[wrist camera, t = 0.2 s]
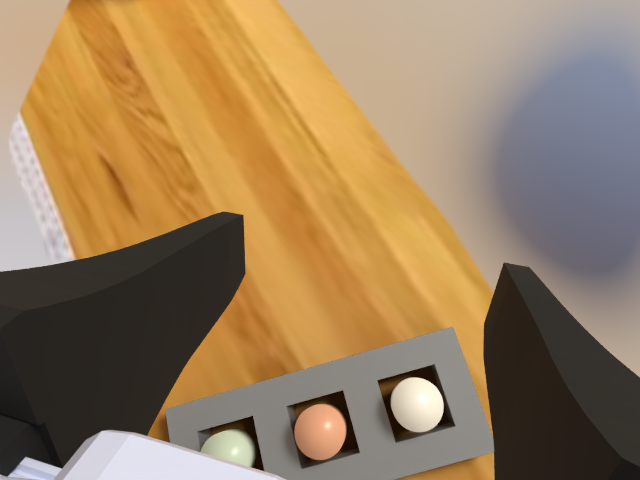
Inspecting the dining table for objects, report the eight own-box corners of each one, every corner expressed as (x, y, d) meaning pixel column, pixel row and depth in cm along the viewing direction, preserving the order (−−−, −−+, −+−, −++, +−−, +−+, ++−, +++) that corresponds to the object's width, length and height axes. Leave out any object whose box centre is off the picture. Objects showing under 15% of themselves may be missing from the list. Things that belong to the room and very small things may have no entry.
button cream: (399, 433, 37) (400, 438, 34) (384, 384, 38) (384, 385, 35) (446, 420, 37) (451, 424, 34) (429, 371, 38) (433, 371, 35)
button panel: (198, 524, 39) (184, 537, 36) (179, 406, 42) (165, 409, 39) (488, 444, 38) (497, 451, 35) (447, 329, 41) (453, 326, 38)
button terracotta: (306, 459, 37) (301, 466, 34) (294, 410, 38) (289, 412, 36) (352, 446, 37) (351, 452, 34) (339, 397, 38) (337, 399, 36)
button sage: (215, 485, 37) (204, 493, 35) (206, 435, 38) (195, 439, 36) (261, 472, 37) (252, 479, 35) (250, 422, 38) (242, 426, 36)
